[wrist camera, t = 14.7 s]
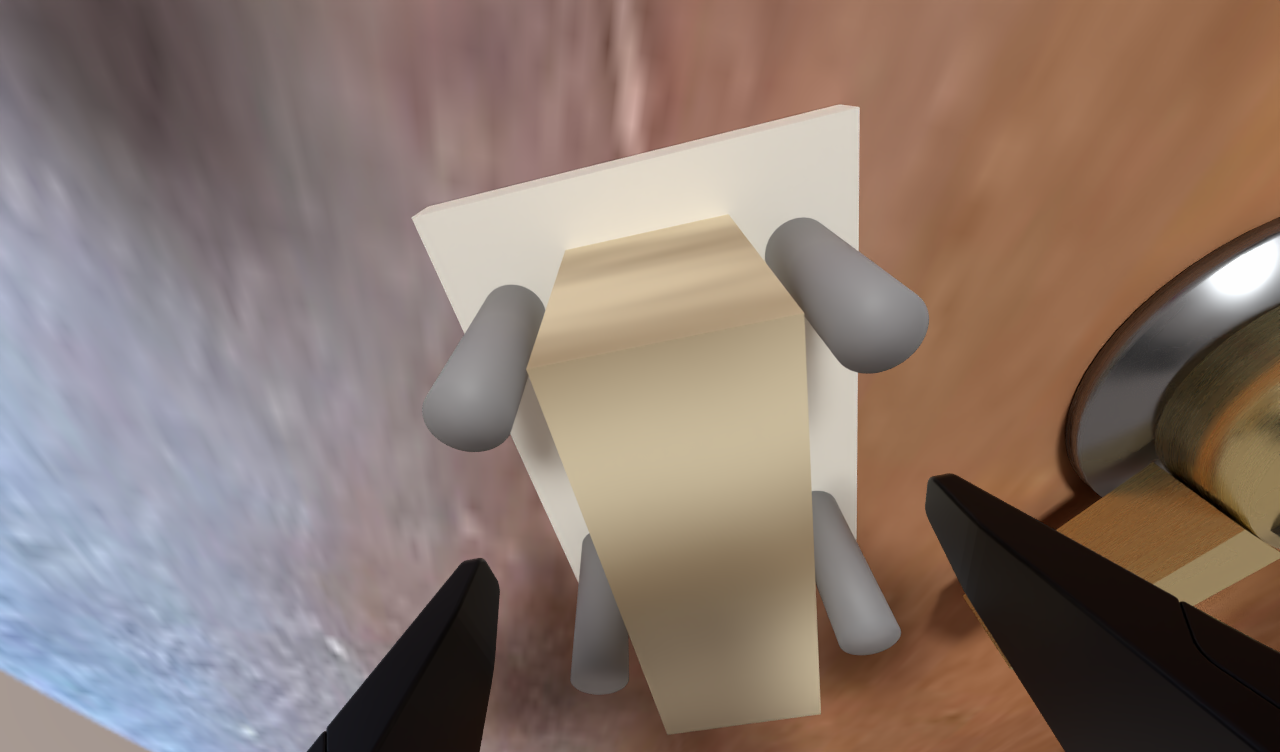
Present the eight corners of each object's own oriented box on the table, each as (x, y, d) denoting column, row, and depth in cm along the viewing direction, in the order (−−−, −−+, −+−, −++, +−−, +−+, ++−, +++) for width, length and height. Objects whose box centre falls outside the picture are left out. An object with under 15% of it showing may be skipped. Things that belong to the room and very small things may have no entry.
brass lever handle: (1380, 221, 11) (1595, 263, 8) (1492, 352, 13) (1694, 416, 10) (916, 575, 17) (965, 658, 14) (1039, 629, 19) (1101, 710, 16)
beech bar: (765, 536, 15) (820, 713, 11) (655, 555, 16) (667, 734, 11) (728, 214, 10) (804, 312, 6) (565, 250, 11) (526, 368, 6)
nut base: (1593, 143, 11) (1640, 146, 10) (1358, 472, 16) (1382, 485, 16) (1115, 245, 12) (1137, 252, 11) (1036, 526, 17) (1049, 540, 16)
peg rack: (427, 206, 11) (303, 289, 7) (839, 104, 10) (997, 124, 6) (587, 574, 18) (577, 734, 13) (844, 530, 17) (920, 685, 13)
